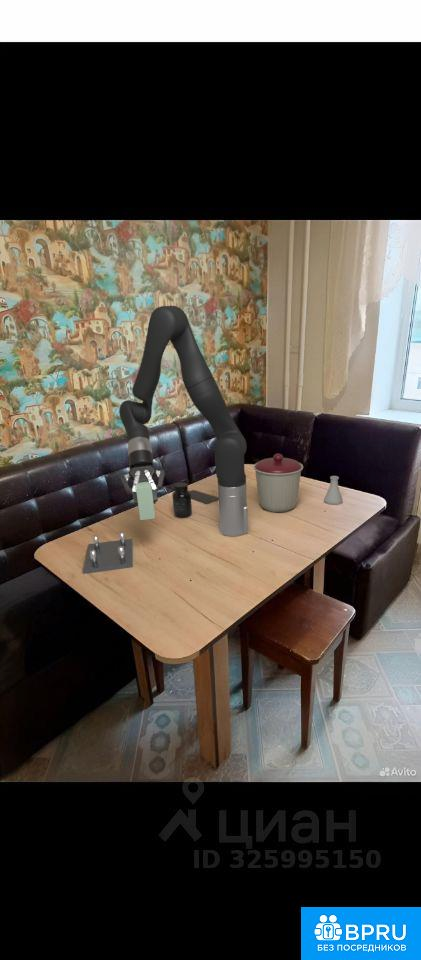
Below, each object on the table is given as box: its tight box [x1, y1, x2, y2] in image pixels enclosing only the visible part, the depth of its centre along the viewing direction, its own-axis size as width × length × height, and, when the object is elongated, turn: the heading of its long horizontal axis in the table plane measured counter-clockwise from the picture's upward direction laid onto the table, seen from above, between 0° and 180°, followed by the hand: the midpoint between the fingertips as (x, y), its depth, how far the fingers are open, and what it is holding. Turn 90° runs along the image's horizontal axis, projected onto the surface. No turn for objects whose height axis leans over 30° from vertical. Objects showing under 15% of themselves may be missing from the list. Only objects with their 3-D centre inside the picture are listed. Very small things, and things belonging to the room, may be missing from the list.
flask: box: [323, 475, 343, 505], centre depth 156 cm, size 7×7×10 cm
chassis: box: [82, 531, 134, 575], centre depth 124 cm, size 14×16×5 cm
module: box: [136, 482, 156, 521], centre depth 123 cm, size 4×6×10 cm
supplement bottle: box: [171, 482, 193, 519], centre depth 150 cm, size 7×7×12 cm
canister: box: [252, 453, 304, 513], centre depth 151 cm, size 18×18×21 cm
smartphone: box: [189, 489, 219, 505], centre depth 168 cm, size 7×1×16 cm
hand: (146, 503), depth 122 cm, fingers closed on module, 4 cm apart
